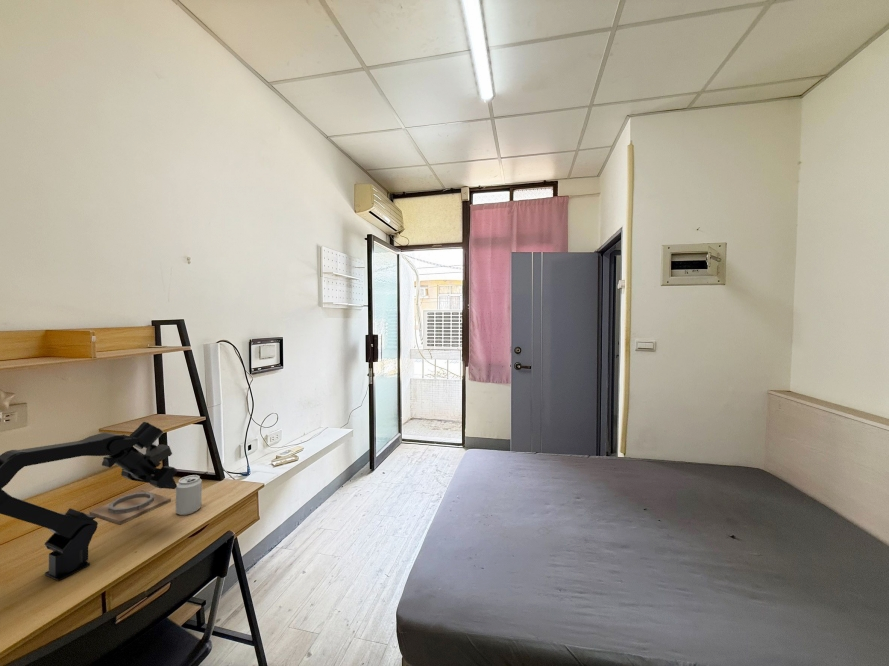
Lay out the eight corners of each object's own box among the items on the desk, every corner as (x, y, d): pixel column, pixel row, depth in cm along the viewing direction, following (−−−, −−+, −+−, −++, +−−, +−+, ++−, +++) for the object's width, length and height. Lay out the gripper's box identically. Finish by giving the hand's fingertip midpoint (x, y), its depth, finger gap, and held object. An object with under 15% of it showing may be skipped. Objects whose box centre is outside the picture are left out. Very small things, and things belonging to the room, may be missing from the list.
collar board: (120, 524, 114) (120, 516, 114) (89, 514, 118) (89, 507, 118) (170, 501, 129) (171, 494, 129) (141, 493, 134) (142, 486, 133)
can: (184, 518, 119) (185, 484, 118) (170, 513, 121) (171, 480, 121) (206, 507, 126) (206, 476, 125) (191, 503, 128) (192, 472, 128)
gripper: (174, 443, 109) (204, 468, 119) (137, 434, 115) (168, 459, 125) (143, 475, 101) (177, 499, 111) (104, 464, 107) (140, 488, 117)
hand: (166, 484), depth 116 cm, fingers open, 9 cm apart
